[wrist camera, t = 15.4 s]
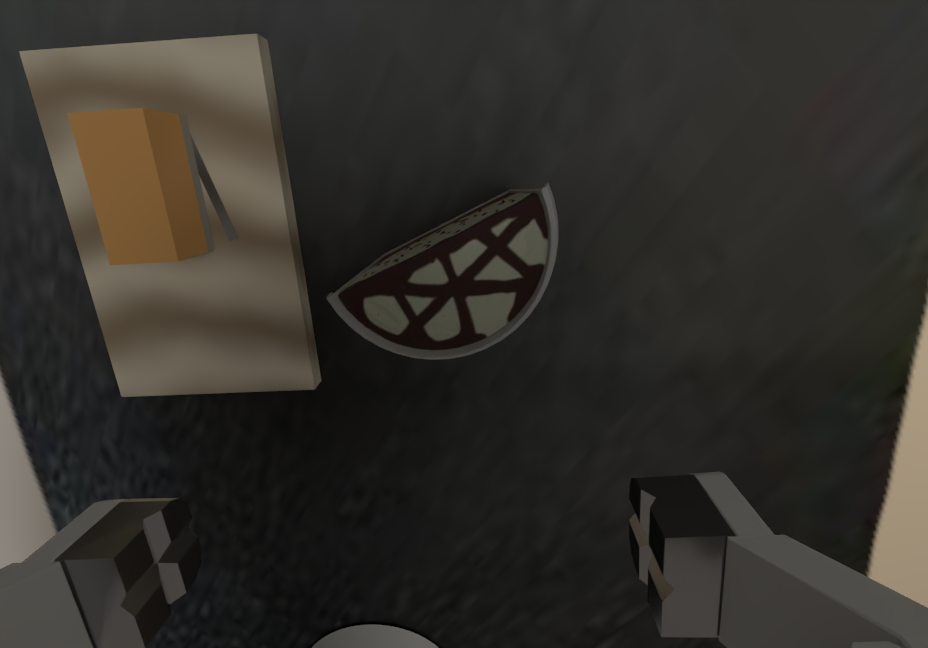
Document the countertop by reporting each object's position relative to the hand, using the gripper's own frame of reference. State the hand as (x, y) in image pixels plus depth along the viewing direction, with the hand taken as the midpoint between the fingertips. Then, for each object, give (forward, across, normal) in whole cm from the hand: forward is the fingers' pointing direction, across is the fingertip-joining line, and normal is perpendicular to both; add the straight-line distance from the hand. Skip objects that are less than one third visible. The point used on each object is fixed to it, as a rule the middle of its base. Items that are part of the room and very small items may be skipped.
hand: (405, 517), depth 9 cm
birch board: (+25, +18, -4) cm, 31 cm away
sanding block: (+23, +18, -7) cm, 30 cm away
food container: (+25, 0, 0) cm, 25 cm away
